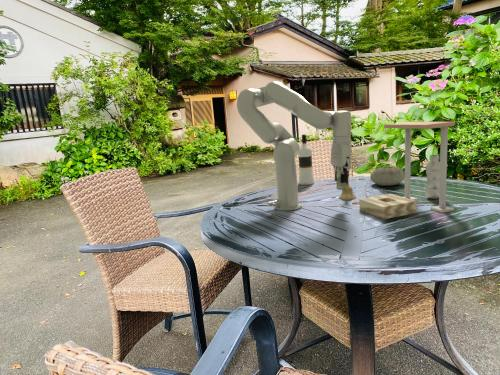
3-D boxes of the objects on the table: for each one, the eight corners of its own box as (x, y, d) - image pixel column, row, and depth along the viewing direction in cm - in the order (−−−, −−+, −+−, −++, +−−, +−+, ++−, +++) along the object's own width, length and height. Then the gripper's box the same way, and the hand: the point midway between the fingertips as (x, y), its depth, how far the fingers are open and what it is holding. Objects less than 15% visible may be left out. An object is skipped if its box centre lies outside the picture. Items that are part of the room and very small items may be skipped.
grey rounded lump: (364, 184, 210) (364, 166, 208) (390, 180, 215) (390, 163, 213) (384, 189, 193) (384, 170, 191) (412, 185, 198) (412, 166, 196)
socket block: (383, 219, 144) (383, 207, 143) (359, 210, 159) (359, 199, 158) (416, 212, 148) (416, 201, 147) (390, 204, 163) (390, 193, 162)
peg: (339, 190, 159) (339, 165, 157) (334, 188, 163) (334, 163, 161) (347, 189, 161) (347, 164, 158) (342, 187, 164) (342, 163, 162)
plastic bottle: (443, 199, 164) (444, 155, 160) (427, 200, 166) (428, 156, 162) (439, 196, 170) (440, 153, 166) (423, 196, 172) (424, 154, 168)
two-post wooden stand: (426, 215, 144) (427, 124, 137) (383, 202, 168) (382, 124, 161) (454, 210, 148) (457, 121, 141) (408, 197, 172) (408, 121, 165)
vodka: (296, 183, 226) (294, 134, 220) (310, 181, 228) (308, 133, 222) (302, 186, 217) (299, 135, 211) (316, 184, 219) (314, 134, 213)
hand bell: (352, 200, 176) (351, 167, 173) (336, 199, 181) (335, 167, 178) (358, 196, 182) (358, 165, 179) (342, 195, 187) (342, 164, 184)
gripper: (324, 139, 164) (324, 179, 168) (344, 142, 148) (344, 186, 152) (338, 138, 166) (338, 177, 170) (360, 140, 151) (359, 184, 155)
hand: (341, 181), depth 161 cm, fingers closed on peg, 4 cm apart
